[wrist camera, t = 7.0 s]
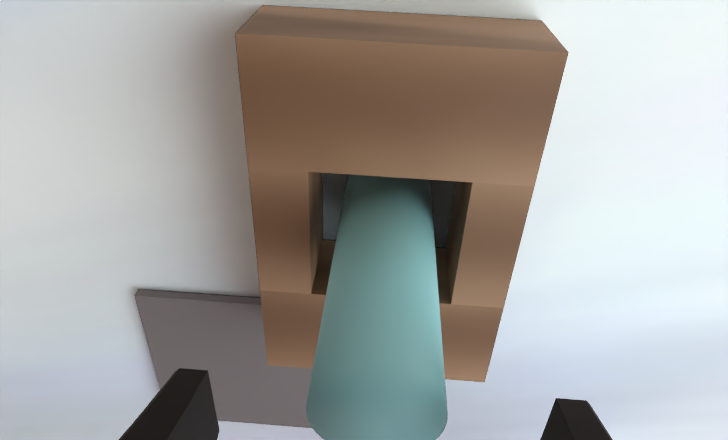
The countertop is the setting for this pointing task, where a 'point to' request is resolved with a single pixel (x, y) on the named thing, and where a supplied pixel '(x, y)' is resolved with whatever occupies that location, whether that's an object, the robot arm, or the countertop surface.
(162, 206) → the countertop surface
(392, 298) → the peg
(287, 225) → the hole block
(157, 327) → the mat
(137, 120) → the countertop surface
